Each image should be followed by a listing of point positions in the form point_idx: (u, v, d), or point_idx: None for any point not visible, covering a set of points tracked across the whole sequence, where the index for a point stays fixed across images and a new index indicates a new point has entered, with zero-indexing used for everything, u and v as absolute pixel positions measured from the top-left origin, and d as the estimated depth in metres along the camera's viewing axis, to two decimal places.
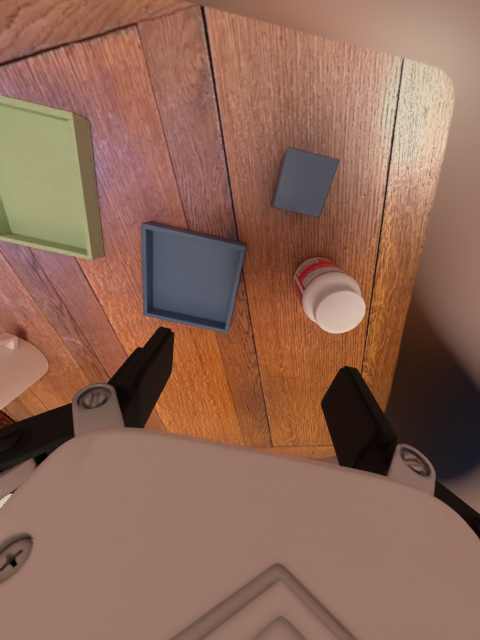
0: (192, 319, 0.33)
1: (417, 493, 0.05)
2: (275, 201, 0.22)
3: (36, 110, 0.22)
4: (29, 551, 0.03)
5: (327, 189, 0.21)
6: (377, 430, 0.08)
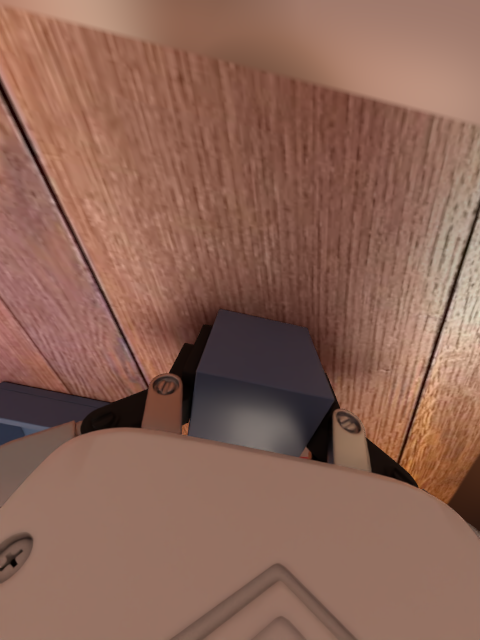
0: None
1: (417, 493, 0.05)
2: None
3: None
4: (29, 551, 0.03)
5: (306, 439, 0.09)
6: None
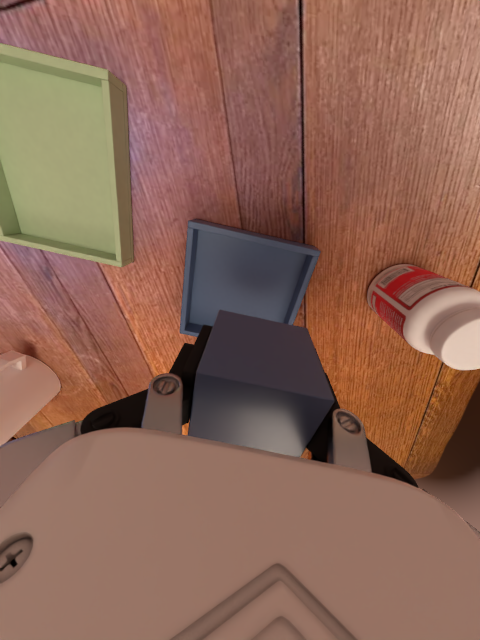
0: None
1: (417, 493, 0.05)
2: None
3: (59, 67, 0.16)
4: (29, 551, 0.03)
5: (306, 440, 0.09)
6: None
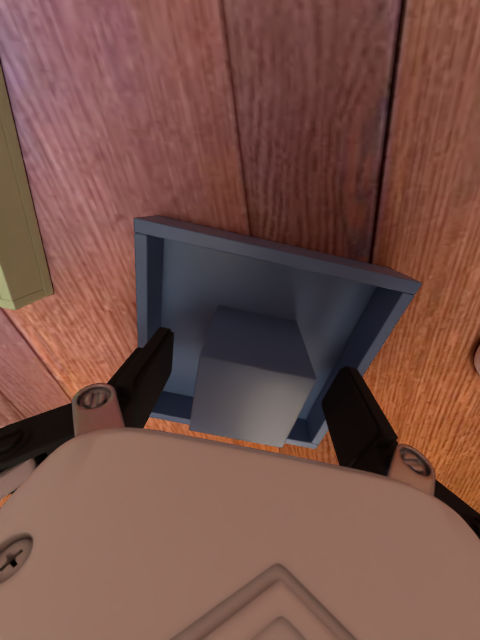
0: None
1: (417, 493, 0.05)
2: (192, 424, 0.11)
3: None
4: (29, 551, 0.03)
5: (294, 416, 0.10)
6: (377, 430, 0.08)
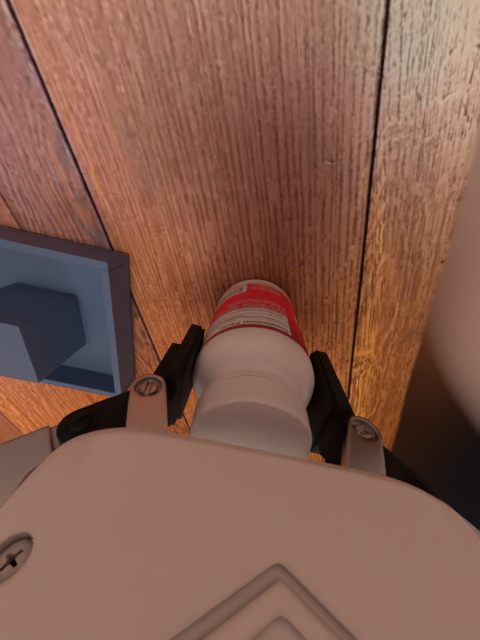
0: (65, 374, 0.21)
1: (417, 493, 0.05)
2: None
3: None
4: (29, 551, 0.03)
5: (26, 356, 0.14)
6: (334, 404, 0.09)
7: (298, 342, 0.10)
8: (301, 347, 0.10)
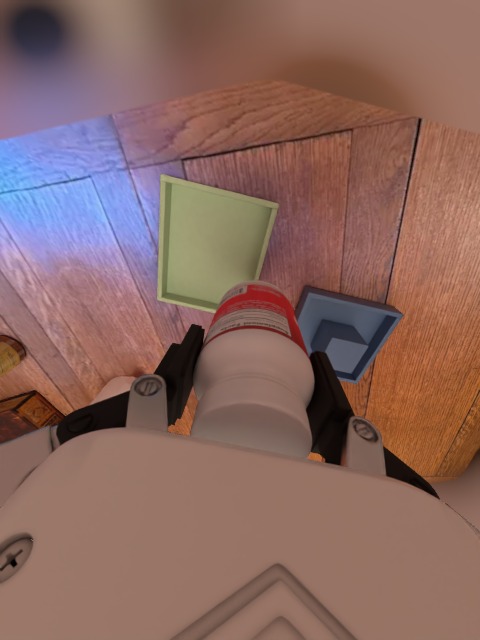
0: None
1: (417, 493, 0.05)
2: None
3: (244, 200, 0.24)
4: (29, 551, 0.03)
5: (358, 359, 0.29)
6: (334, 404, 0.09)
7: (298, 343, 0.10)
8: (301, 348, 0.10)
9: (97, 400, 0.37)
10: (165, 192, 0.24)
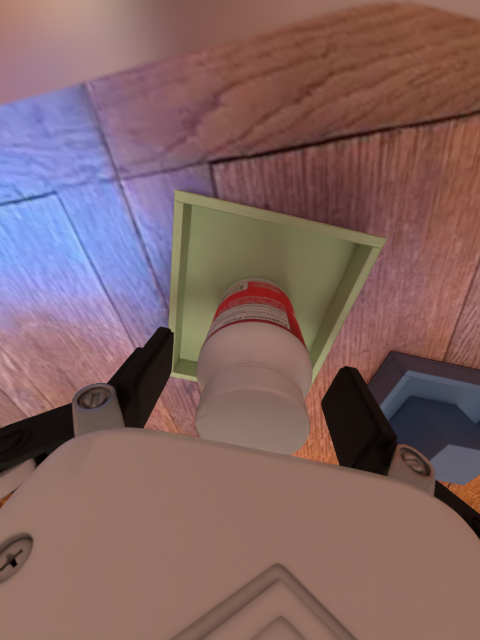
0: None
1: (417, 493, 0.05)
2: None
3: (324, 234, 0.13)
4: (29, 551, 0.03)
5: None
6: (377, 430, 0.08)
7: (297, 336, 0.11)
8: (300, 341, 0.11)
9: None
10: (182, 220, 0.14)
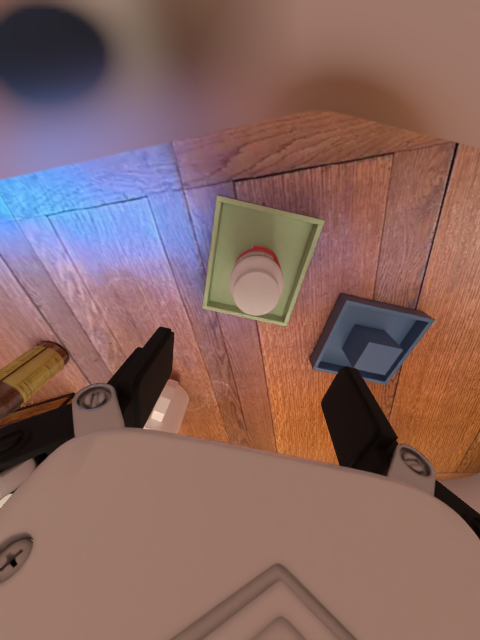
0: None
1: (417, 493, 0.05)
2: (355, 366, 0.32)
3: (293, 218, 0.26)
4: (29, 551, 0.03)
5: (392, 362, 0.31)
6: (377, 430, 0.08)
7: (276, 263, 0.23)
8: (278, 265, 0.23)
9: None
10: (219, 211, 0.26)
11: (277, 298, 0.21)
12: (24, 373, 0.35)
